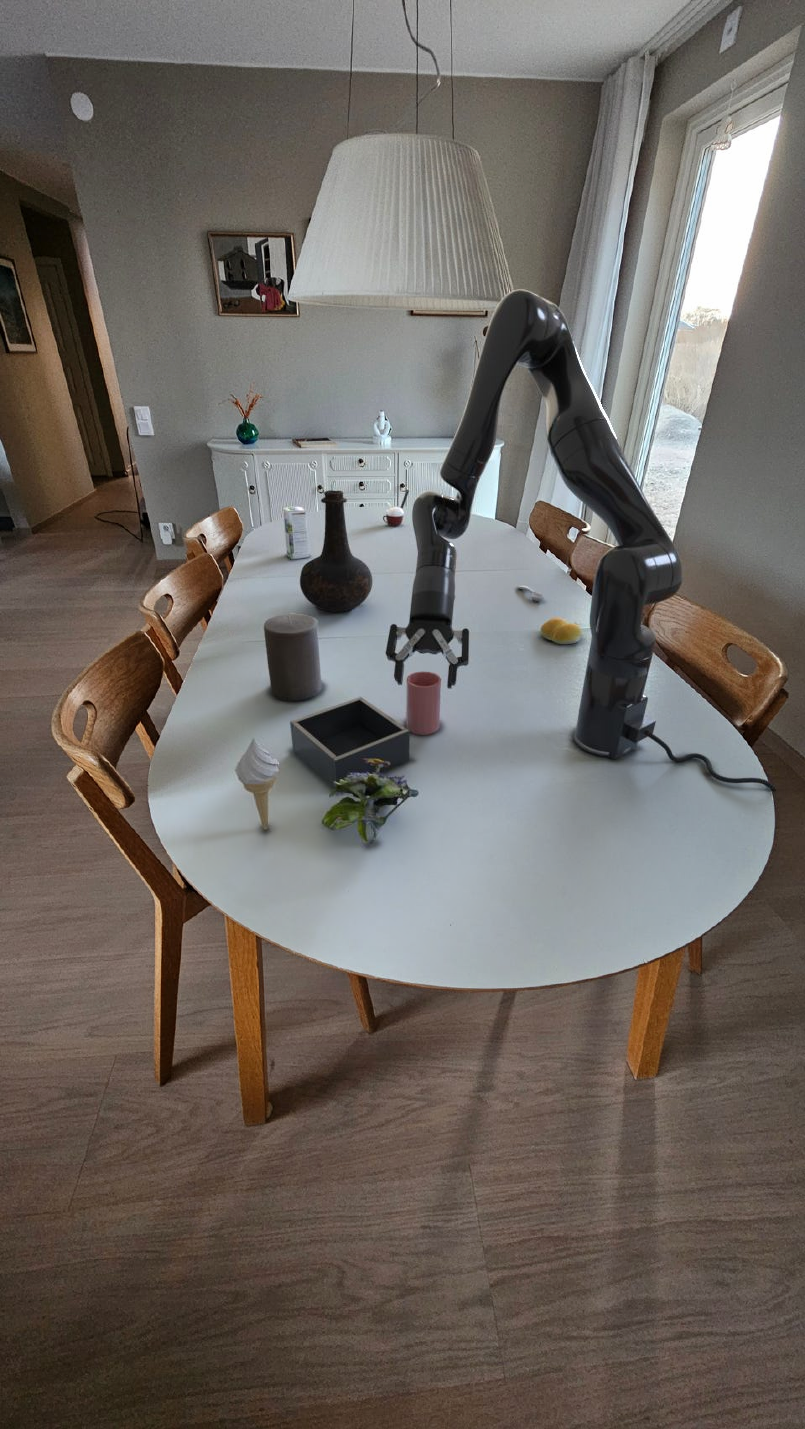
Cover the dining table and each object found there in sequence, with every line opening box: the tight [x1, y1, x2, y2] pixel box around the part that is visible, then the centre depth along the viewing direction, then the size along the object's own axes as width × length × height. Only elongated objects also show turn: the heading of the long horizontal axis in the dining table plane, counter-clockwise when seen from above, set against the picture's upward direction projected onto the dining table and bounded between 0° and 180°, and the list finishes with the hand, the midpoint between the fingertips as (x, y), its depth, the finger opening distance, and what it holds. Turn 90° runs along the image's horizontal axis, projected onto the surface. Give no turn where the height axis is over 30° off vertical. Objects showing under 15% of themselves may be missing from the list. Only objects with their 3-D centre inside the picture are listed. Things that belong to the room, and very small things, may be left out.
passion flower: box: [321, 758, 420, 845], centre depth 84 cm, size 11×11×12 cm
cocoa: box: [382, 489, 410, 527], centre depth 225 cm, size 10×6×12 cm, turn 91°
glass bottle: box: [299, 489, 373, 613], centre depth 151 cm, size 18×18×28 cm
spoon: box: [517, 585, 545, 602], centre depth 164 cm, size 3×12×2 cm, turn 16°
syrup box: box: [282, 506, 310, 560], centre depth 191 cm, size 6×6×14 cm
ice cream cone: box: [234, 737, 280, 831], centre depth 81 cm, size 6×6×15 cm
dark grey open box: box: [289, 696, 411, 790], centre depth 99 cm, size 14×14×6 cm
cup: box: [405, 671, 442, 736], centre depth 106 cm, size 6×6×9 cm
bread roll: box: [540, 617, 583, 645], centre depth 140 cm, size 8×9×4 cm
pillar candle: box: [263, 612, 322, 702], centre depth 116 cm, size 10×10×15 cm
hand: (424, 685), depth 106 cm, fingers open, 8 cm apart
